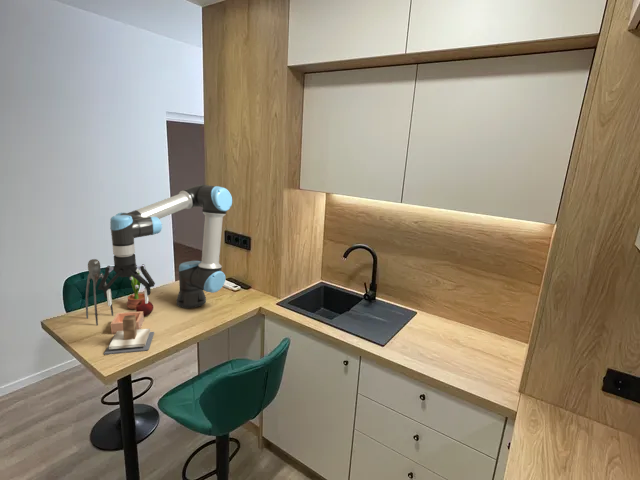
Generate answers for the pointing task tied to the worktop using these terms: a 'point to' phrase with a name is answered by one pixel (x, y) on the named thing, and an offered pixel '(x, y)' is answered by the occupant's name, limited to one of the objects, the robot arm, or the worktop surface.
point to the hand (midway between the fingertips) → (128, 303)
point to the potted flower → (135, 293)
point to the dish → (118, 321)
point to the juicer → (94, 284)
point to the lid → (129, 335)
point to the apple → (144, 307)
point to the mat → (132, 349)
